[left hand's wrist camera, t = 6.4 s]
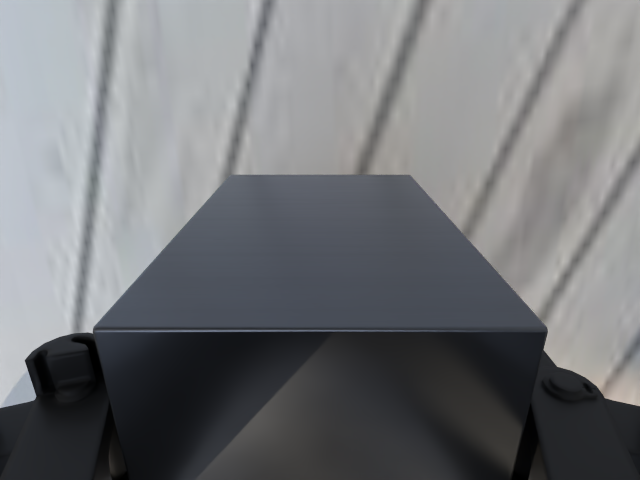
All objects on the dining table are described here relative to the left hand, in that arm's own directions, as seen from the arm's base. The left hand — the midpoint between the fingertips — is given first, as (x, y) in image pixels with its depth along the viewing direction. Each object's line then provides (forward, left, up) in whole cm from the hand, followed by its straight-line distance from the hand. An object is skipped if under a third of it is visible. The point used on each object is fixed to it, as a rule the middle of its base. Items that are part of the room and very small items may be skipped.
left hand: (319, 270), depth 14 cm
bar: (-4, +7, 0) cm, 8 cm away
